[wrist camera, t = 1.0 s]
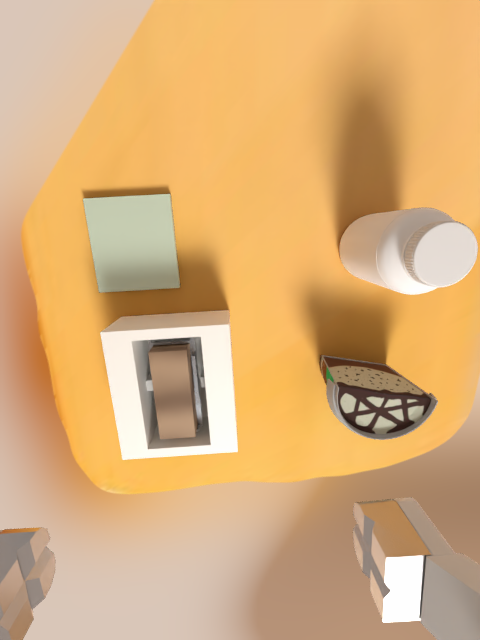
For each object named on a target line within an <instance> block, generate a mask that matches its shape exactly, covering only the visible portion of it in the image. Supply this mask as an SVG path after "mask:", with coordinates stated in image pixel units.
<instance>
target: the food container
mask: <svg viewBox="0 0 480 640" xmlns="http://www.w3.org/2000/svg"><path fill="white" fill-rule="evenodd" d="M320 368H321V373H322V376H323V378H324V380H325V383H326V385H327V399H328V403H329V406H330V408H331V410H332V412H333V413H334V415H335V416H336V417H337V419H338V420H339V421H340V422H342V423H343V424H344V425H345V426H346V427H347V428H349V429H350V430H351V431H353V432H355V433H357V434H359V435H361V436H364V437H367V438H371V439H379V440H385V439H393V438H397V437H401V436H403V435H406V434H408V433H410V432H412V431H414V430H415V429H417V428H418V427H419V426H421V425H422V424H423V423H424V422H425V421H426V420H427V419H428V418H429V416H430V415H431V414H432V412H433V411H434V409H435V407H436V405H437V403H438V401H437V400H436V398H435V396H434V395H433V394H432V393H430V394H428V393H426V392H425V391H423V390H422V389H420V388H419V387H418V386H416V385H415V384H413V383H412V382H410V381H409V380H408V379H406V378H405V377H403V376H402V375H400V374H399V373H398V372H396V371H395V370H393V369H392V368H391V367H389V366H388V365H386V364H381V363H374V362H367V361H360V360H353V359H346V358H339V357H332V356H325V355H321V357H320Z"/></svg>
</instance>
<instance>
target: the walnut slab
mask: <svg viewBox="0 0 480 640" xmlns="http://www.w3.org/2000/svg"><path fill="white" fill-rule="evenodd" d="M148 355H149V362H150V369H151V376H152V384H153V391H154V398H155V405H156V413H157V420H158V427H159V434H160V439H173V438H188V437H196V431H197V425H198V421H197V411H196V401H195V391H194V381H193V372H192V362H191V352H190V343H184V344H168V345H153V347H152V348H151V349H150V351H149V352H148Z"/></svg>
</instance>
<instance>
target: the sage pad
mask: <svg viewBox="0 0 480 640" xmlns="http://www.w3.org/2000/svg"><path fill="white" fill-rule="evenodd" d="M83 202H84V208H85V214H86V220H87V225H88V231H89V237H90V243H91V249H92V254H93V260H94V266H95V272H96V278H97V284H98V289H99V293H101V292H118V291H135V290H151V289H168V288H180V277H179V267H178V258H177V248H176V239H175V229H174V220H173V210H172V200H171V194H157V195H139V196H121V197H102V198H84V199H83Z"/></svg>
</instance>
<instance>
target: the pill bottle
mask: <svg viewBox="0 0 480 640" xmlns="http://www.w3.org/2000/svg"><path fill="white" fill-rule="evenodd" d="M477 252H478V246H477V240H476V238H475V235H474V234H473V232H472V231H471V230H470V229H469V228H468V227H467V226H466V225H464V224H463V223H462V224H461V223H460V222H457V221H454V220H453V219H452V218H451V217H450V216H449V215H447V214H446V213H444V212H442V211H440V210H437V209H433V208H413V209H406V210H398V211H390V212H383V213H375V214H369V215H365V216H363V217H360V218H359V219H357V220H355V221H354V222H353V223H351V224H350V225H349V227H348V228H347V229H346V230H345V232H344V234H343V236H342V238H341V241H340V247H339V253H340V259H341V261H342V264H343V265H344V267H345V268H346V270H347V271H348V272H349V273H351V274H352V275H354V276H355V277H357V278H360V279H363V280H366V281H368V282H371V283H374V284H377V285H380V286H382V287H385V288H388V289H391V290H394V291H396V292H399V293H403V294H421V293H426V292H429V291H432V290H434V289H436V288H438V287H446V286H449V285H452V284H455V283H456V282H458V281H460V280H461V279H463V278H464V277H465V276H466V275H467V274H468V273H469V271H470V270H471V269H472V267H473V265H474V263H475V261H476V257H477Z"/></svg>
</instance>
